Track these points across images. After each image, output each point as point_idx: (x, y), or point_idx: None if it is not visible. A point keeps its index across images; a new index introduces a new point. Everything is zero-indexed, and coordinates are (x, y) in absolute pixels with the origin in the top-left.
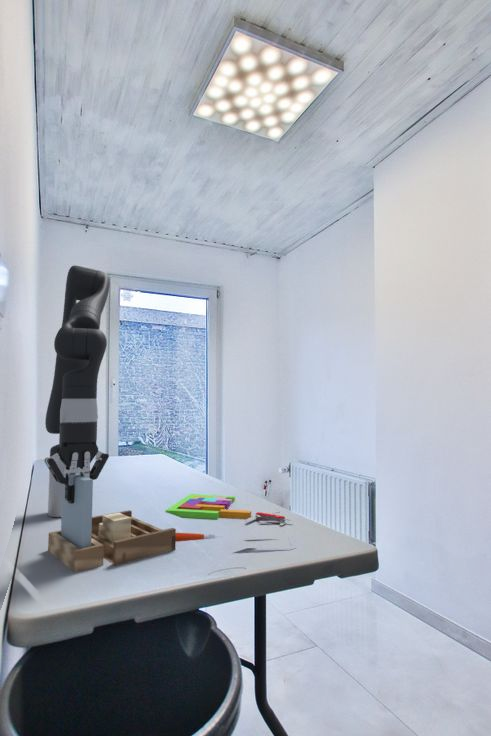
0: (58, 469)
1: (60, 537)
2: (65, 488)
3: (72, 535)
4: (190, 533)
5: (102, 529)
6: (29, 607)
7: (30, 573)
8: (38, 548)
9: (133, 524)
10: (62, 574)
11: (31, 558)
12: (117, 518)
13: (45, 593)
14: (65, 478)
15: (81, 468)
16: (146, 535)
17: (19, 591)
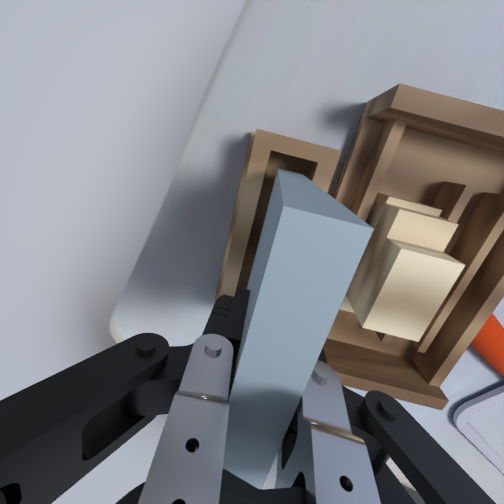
0: (47, 496)
1: (250, 209)
2: (204, 332)
3: (253, 264)
4: None
5: (381, 234)
6: (128, 324)
7: (181, 207)
8: (283, 35)
9: None
10: (219, 264)
11: (226, 112)
12: (390, 316)
13: (162, 305)
14: (159, 412)
15: (301, 483)
16: (364, 388)
17: (136, 266)
